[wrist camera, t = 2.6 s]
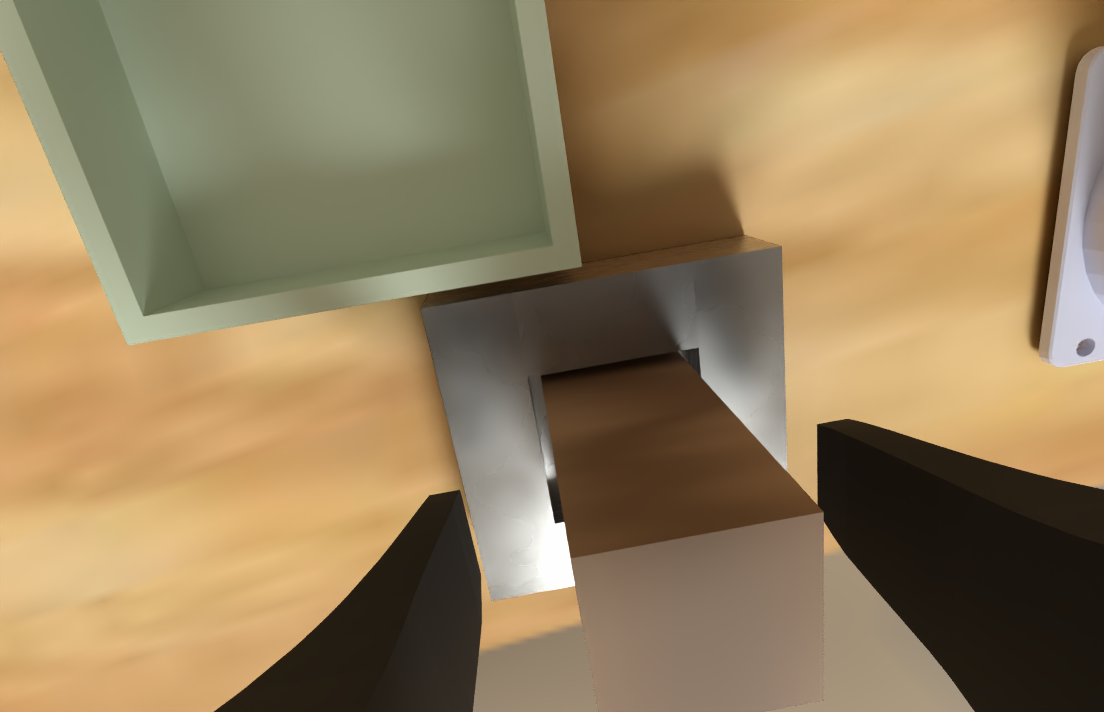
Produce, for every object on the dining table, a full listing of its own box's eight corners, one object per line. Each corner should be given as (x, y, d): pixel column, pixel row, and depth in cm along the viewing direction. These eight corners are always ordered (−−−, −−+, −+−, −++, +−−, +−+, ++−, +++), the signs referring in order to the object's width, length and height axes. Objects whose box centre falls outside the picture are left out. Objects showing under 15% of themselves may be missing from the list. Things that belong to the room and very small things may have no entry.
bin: (498, -212, 11) (495, -341, 8) (566, 245, 14) (582, 266, 11) (36, -141, 11) (-126, -246, 8) (204, 308, 14) (127, 345, 11)
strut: (674, 348, 14) (823, 512, 8) (686, 467, 15) (823, 700, 9) (539, 372, 14) (570, 558, 7) (561, 489, 15) (603, 743, 9)
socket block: (745, 235, 14) (781, 245, 12) (757, 503, 17) (789, 545, 15) (431, 289, 14) (420, 308, 12) (493, 551, 17) (491, 600, 15)
